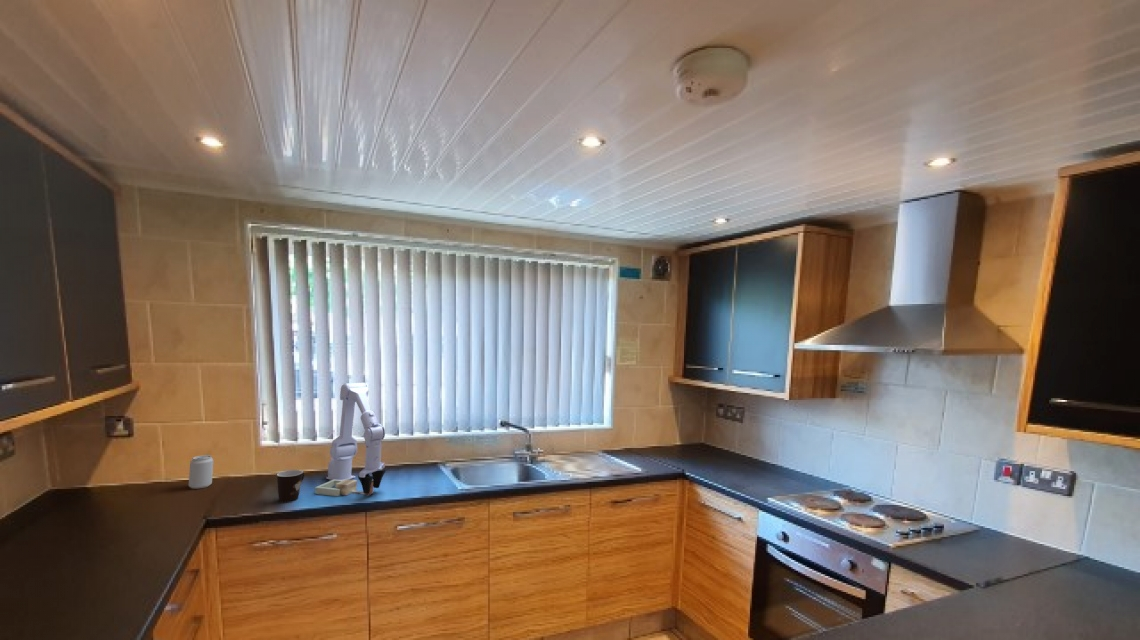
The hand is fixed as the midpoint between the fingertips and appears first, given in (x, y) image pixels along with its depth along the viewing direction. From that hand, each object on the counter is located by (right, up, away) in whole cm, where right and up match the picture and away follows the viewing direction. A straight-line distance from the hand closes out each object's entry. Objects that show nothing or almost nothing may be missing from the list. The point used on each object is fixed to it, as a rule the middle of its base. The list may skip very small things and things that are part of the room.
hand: (371, 490), depth 187 cm
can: (-70, +1, +1) cm, 70 cm away
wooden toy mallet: (-7, -1, +1) cm, 7 cm away
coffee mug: (-27, -1, -8) cm, 28 cm away
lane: (-16, -1, +3) cm, 16 cm away
